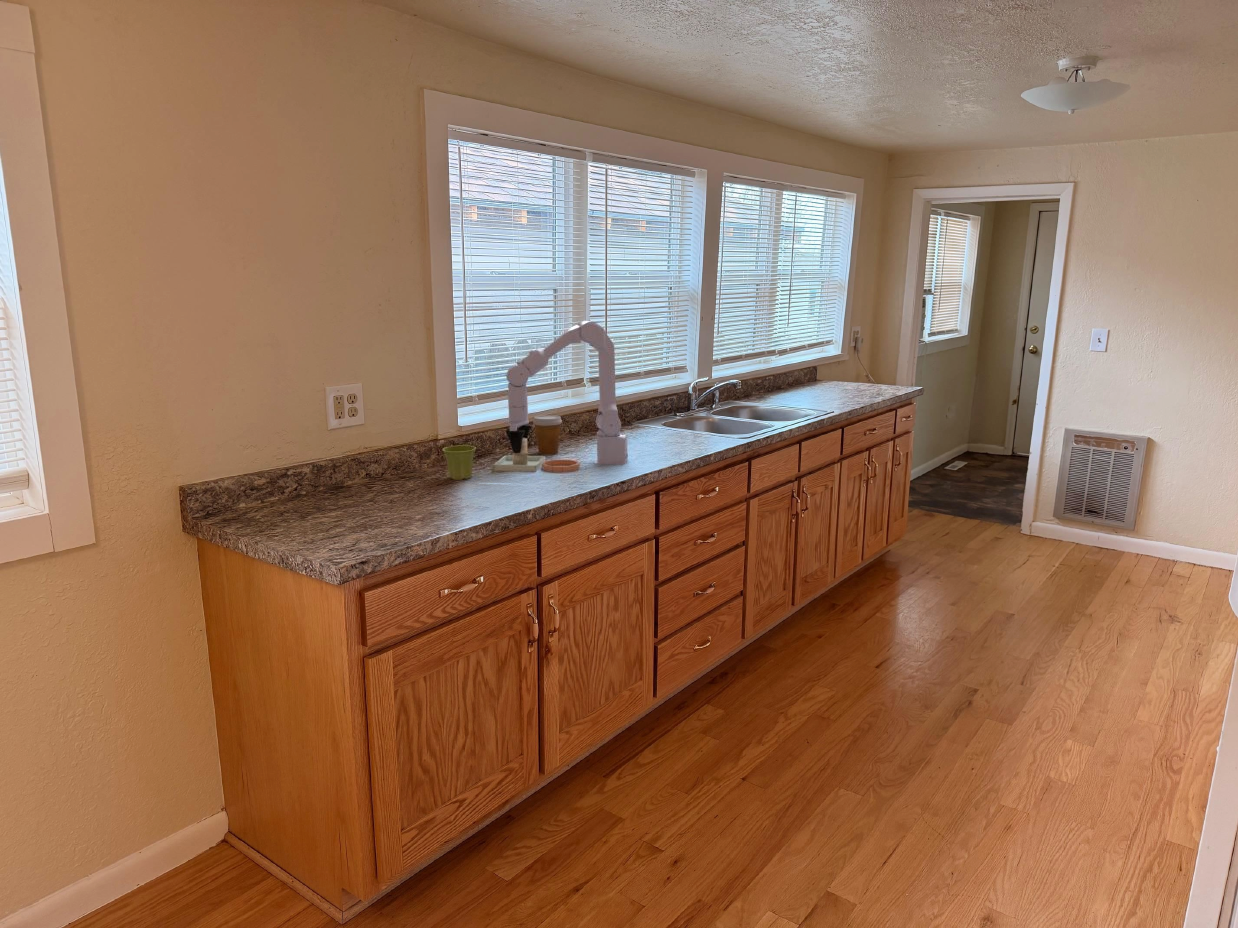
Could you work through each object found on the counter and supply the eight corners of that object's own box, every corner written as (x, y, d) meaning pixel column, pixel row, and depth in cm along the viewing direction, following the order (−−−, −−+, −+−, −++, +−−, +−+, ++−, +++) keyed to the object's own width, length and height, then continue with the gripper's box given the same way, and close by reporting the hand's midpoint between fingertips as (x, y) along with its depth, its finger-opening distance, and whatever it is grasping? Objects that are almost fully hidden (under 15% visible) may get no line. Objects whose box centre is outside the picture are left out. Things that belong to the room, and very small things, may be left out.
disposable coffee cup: (564, 450, 285) (564, 414, 283) (560, 456, 276) (559, 419, 274) (536, 450, 286) (535, 414, 284) (531, 455, 277) (530, 419, 275)
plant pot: (470, 481, 241) (468, 451, 239) (438, 480, 243) (437, 450, 241) (481, 474, 250) (480, 445, 248) (451, 473, 252) (450, 444, 250)
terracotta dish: (582, 466, 261) (582, 459, 260) (576, 473, 250) (575, 467, 250) (546, 465, 262) (546, 459, 262) (539, 473, 251) (539, 466, 251)
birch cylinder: (528, 463, 261) (528, 437, 259) (525, 466, 257) (525, 440, 255) (514, 463, 262) (514, 437, 260) (511, 466, 257) (510, 440, 256)
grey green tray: (545, 463, 265) (545, 456, 265) (536, 472, 252) (536, 465, 251) (505, 462, 267) (504, 455, 267) (493, 472, 253) (493, 464, 253)
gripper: (510, 402, 263) (512, 446, 266) (498, 409, 249) (500, 455, 252) (533, 402, 262) (534, 446, 265) (522, 409, 248) (524, 455, 251)
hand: (519, 450), depth 258 cm, fingers open, 6 cm apart
